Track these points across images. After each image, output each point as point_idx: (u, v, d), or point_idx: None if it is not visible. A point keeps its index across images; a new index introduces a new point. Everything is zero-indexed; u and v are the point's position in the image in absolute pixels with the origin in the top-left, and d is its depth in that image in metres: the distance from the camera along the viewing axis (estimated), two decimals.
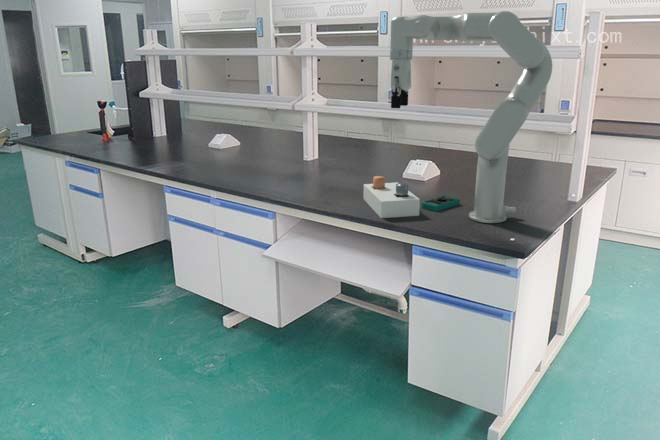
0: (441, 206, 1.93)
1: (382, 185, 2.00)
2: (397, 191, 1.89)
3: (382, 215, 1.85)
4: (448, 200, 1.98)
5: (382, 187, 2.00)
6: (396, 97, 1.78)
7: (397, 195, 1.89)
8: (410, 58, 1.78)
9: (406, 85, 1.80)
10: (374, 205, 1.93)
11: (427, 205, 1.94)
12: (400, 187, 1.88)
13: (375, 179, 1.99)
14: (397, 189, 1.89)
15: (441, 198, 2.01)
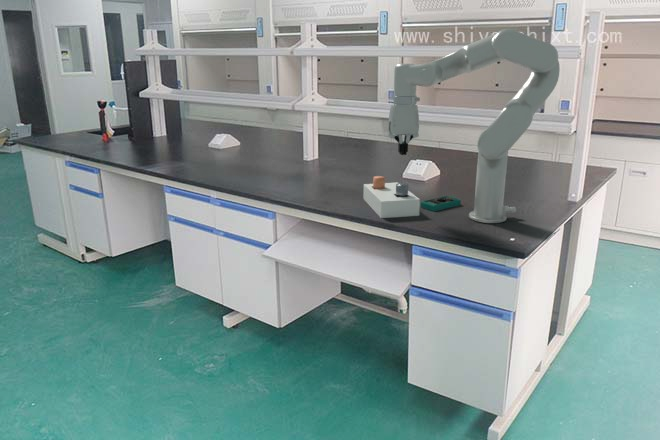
0: (439, 206, 1.93)
1: (382, 185, 2.00)
2: (397, 191, 1.89)
3: (382, 215, 1.85)
4: (448, 200, 1.98)
5: (382, 187, 2.00)
6: None
7: (397, 195, 1.89)
8: None
9: None
10: (374, 205, 1.93)
11: (425, 204, 1.94)
12: (400, 187, 1.88)
13: (375, 179, 1.99)
14: (397, 189, 1.89)
15: (442, 198, 2.01)
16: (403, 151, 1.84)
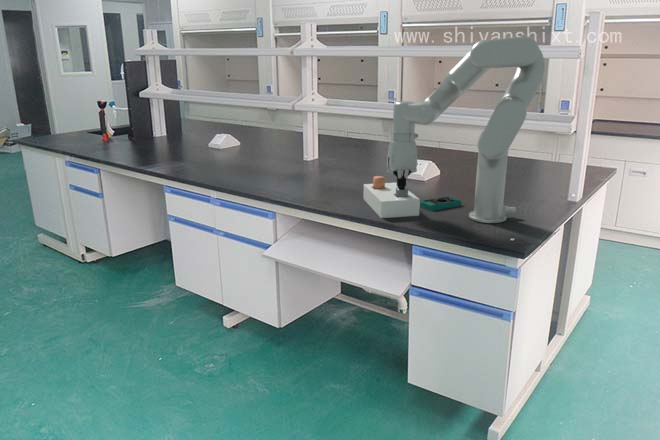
0: (437, 206, 1.93)
1: (382, 185, 2.00)
2: (397, 195, 1.89)
3: (382, 215, 1.85)
4: (448, 201, 1.97)
5: (382, 187, 2.00)
6: None
7: None
8: None
9: None
10: (374, 205, 1.93)
11: (424, 204, 1.95)
12: (400, 191, 1.88)
13: (375, 179, 1.99)
14: (397, 193, 1.89)
15: (443, 198, 2.00)
16: (402, 186, 1.88)
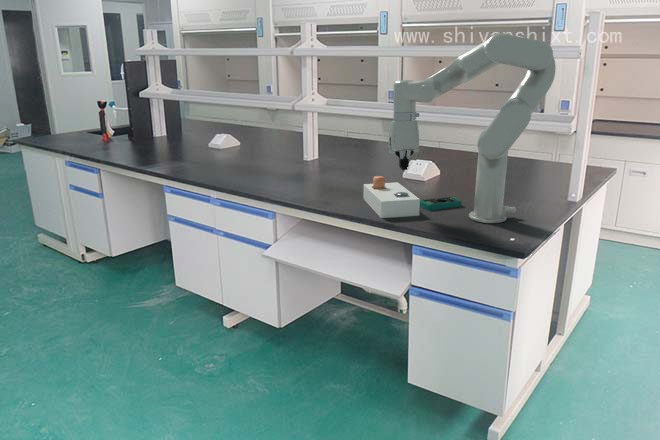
0: (435, 206, 1.93)
1: (382, 185, 2.00)
2: None
3: (382, 215, 1.85)
4: (448, 201, 1.97)
5: (382, 187, 2.00)
6: None
7: None
8: None
9: None
10: (374, 205, 1.93)
11: (422, 203, 1.96)
12: (400, 196, 1.89)
13: (375, 179, 1.99)
14: None
15: (444, 198, 2.00)
16: (404, 166, 1.86)
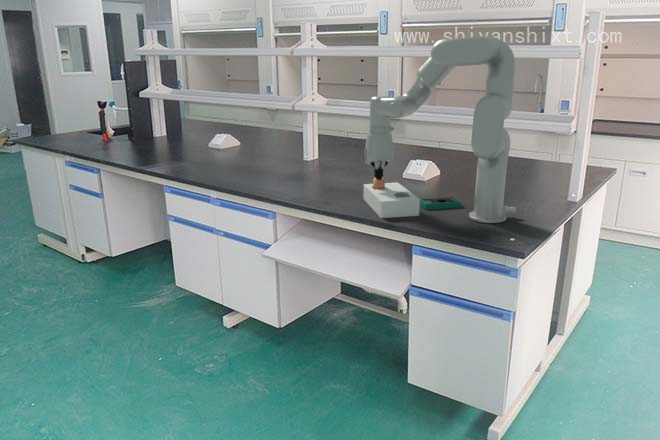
0: (432, 205, 1.94)
1: (382, 187, 2.00)
2: None
3: (382, 215, 1.85)
4: (448, 201, 1.97)
5: None
6: None
7: None
8: None
9: None
10: (374, 205, 1.93)
11: (421, 203, 1.97)
12: (400, 196, 1.89)
13: (375, 181, 2.00)
14: None
15: (445, 199, 2.00)
16: (379, 176, 1.99)
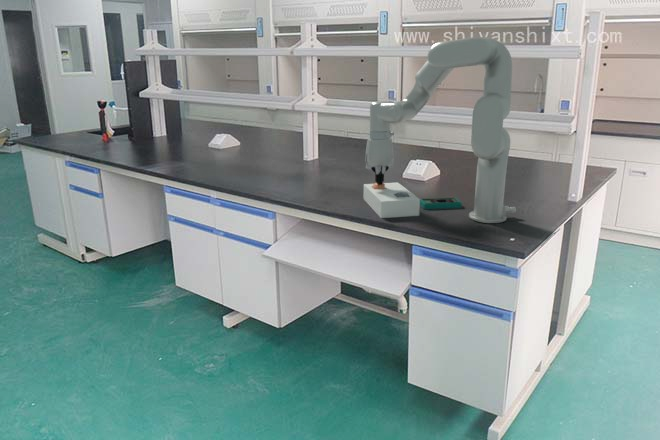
0: (431, 205, 1.94)
1: None
2: None
3: (382, 215, 1.85)
4: (447, 201, 1.96)
5: None
6: None
7: None
8: None
9: None
10: (374, 205, 1.93)
11: (421, 202, 1.98)
12: (400, 196, 1.89)
13: (375, 186, 2.00)
14: None
15: (445, 199, 2.00)
16: (380, 181, 2.00)
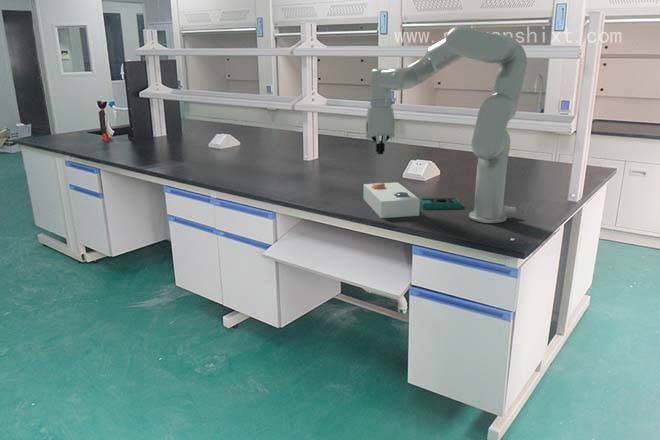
0: (430, 205, 1.94)
1: None
2: None
3: (382, 215, 1.85)
4: (447, 201, 1.96)
5: None
6: None
7: None
8: None
9: None
10: (374, 205, 1.93)
11: (420, 202, 1.98)
12: (400, 196, 1.89)
13: (375, 186, 2.00)
14: None
15: (446, 199, 1.99)
16: (380, 151, 1.96)
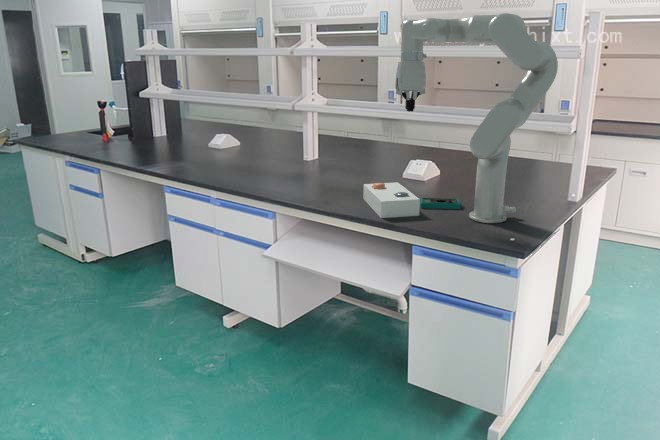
0: (428, 204, 1.95)
1: None
2: None
3: (382, 215, 1.85)
4: (446, 202, 1.96)
5: None
6: None
7: None
8: None
9: None
10: (374, 205, 1.93)
11: (420, 201, 1.99)
12: (400, 196, 1.89)
13: (375, 186, 2.00)
14: None
15: (446, 199, 1.99)
16: (410, 108, 1.88)
